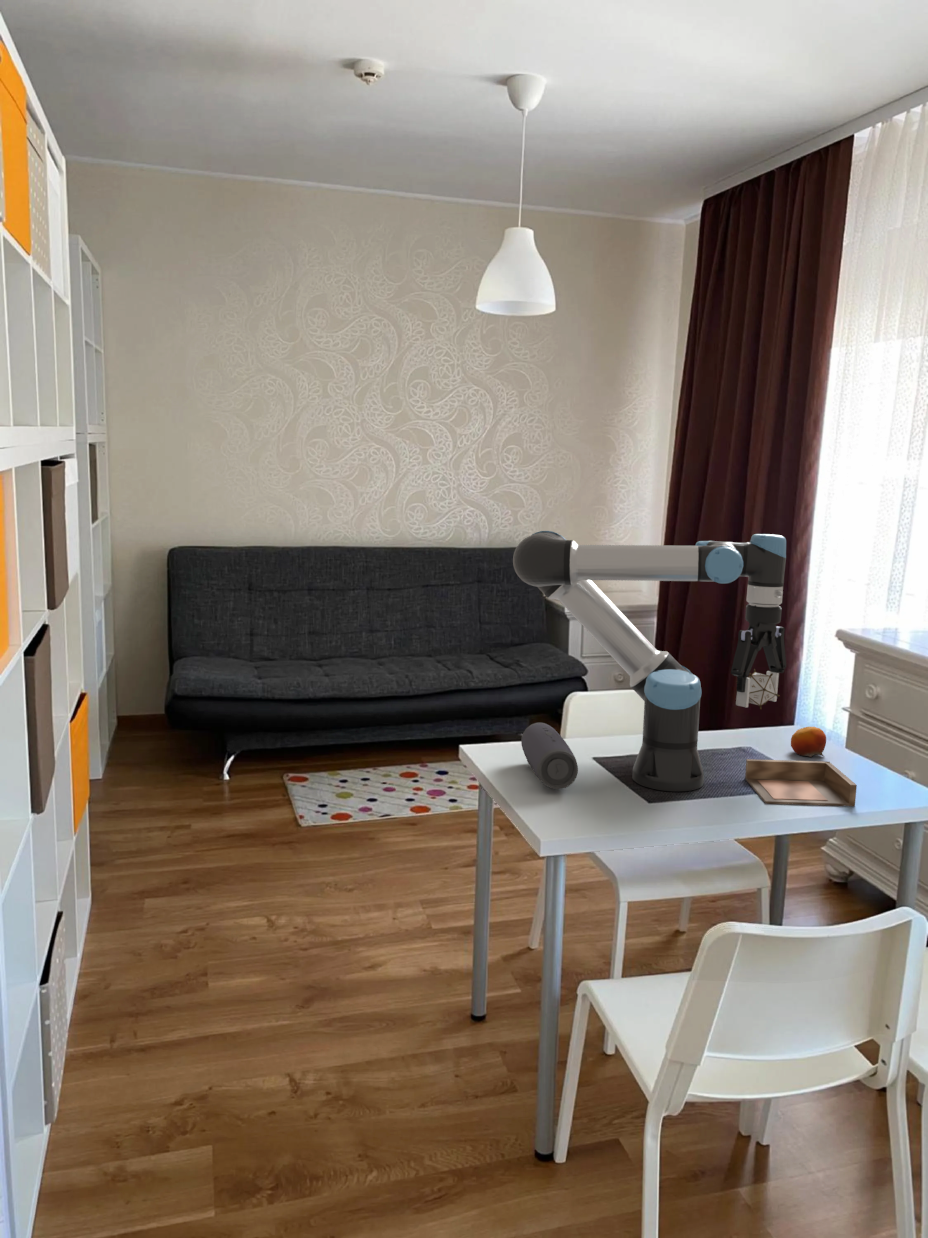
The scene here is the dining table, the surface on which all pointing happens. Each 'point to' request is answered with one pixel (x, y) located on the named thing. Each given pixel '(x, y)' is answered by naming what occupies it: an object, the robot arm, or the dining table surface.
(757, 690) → the game die
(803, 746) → the fruit
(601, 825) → the dining table surface
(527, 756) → the bluetooth speaker
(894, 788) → the dining table surface
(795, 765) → the brown wooden tray
